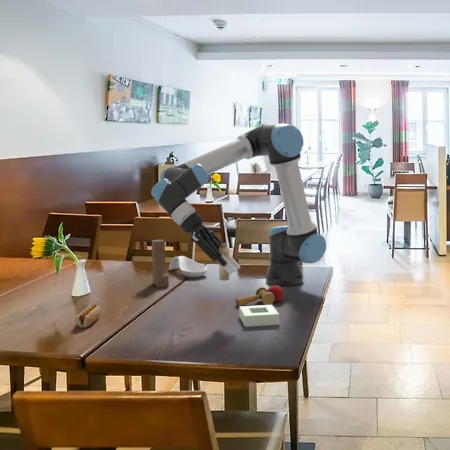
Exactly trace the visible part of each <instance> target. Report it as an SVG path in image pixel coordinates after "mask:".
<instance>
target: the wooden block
mask: <svg viewBox="0 0 450 450" xmlns="http://www.w3.org/2000/svg"><path fill="white" fill-rule="evenodd" d="M165 242H166V241H165V240H164V239H152V240H151V257H152V259H151V260H152V261H151V262H152V283H153V284H154V285H155V287H156V288H159V289H160V288H168V287H169V284H170V283H169V282H170V281H169V275H168V274H167V270H166V269H167V268H166V243H165Z"/></svg>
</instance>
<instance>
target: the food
mask: <svg viewBox="0 0 450 450" xmlns="http://www.w3.org/2000/svg"><path fill="white" fill-rule="evenodd" d="M100 316H101V307H100V305H97V304H96V303H92V304H91V305H89V306H88V307H86V308H84V310H82V312H80V313H79V314H78V315H76V318H75V322H76V323H75V324H77V326H78V327H79V328H84V329H85V328H88V327H90V325H92V324H93V323H95V322H96V321H97V320H98V319H99V317H100Z"/></svg>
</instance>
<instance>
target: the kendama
mask: <svg viewBox="0 0 450 450" xmlns="http://www.w3.org/2000/svg"><path fill="white" fill-rule="evenodd" d="M255 290H256V291H255V295H249V296H245V297H238V298H236V299H235V305H236V306H237V307H238V308H239V306H246V305H247V304H251V303H254V302H256V301H258V300H261V302H262V304H263V305H273V304H274V303H279V302H281V301H282V300H283V298H284V296H285V295H284V290H283V288H282V286H278V285H271V286H270V287H269V288H265V287H263V286H260V287H258V288H257V289H255Z"/></svg>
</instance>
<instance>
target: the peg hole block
mask: <svg viewBox="0 0 450 450" xmlns="http://www.w3.org/2000/svg"><path fill="white" fill-rule="evenodd" d="M238 308H239V310H238V311H239V315H238V316H239V319H240V321H241V323H242V324H243V326H244V327H245V328H248V327H263V326H265V327H266V326H278V325H280V313H279V312H278V311H277V309H276V307H275V306H274V305H273V304H271V305H265V304H261V305H257V304H256V305H242V306H239V307H238Z"/></svg>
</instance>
